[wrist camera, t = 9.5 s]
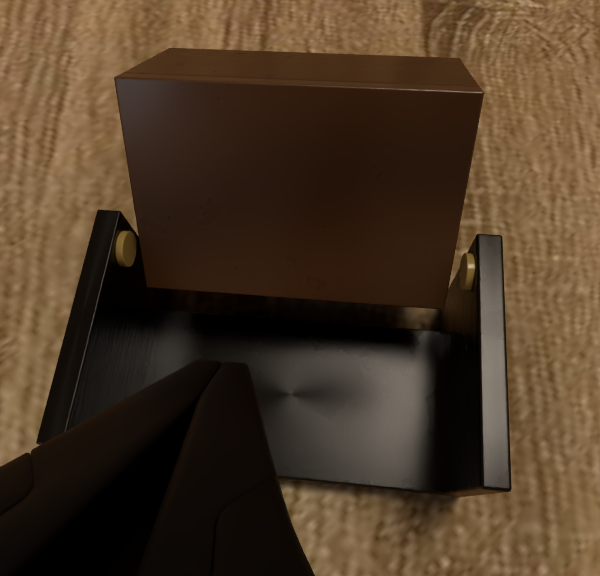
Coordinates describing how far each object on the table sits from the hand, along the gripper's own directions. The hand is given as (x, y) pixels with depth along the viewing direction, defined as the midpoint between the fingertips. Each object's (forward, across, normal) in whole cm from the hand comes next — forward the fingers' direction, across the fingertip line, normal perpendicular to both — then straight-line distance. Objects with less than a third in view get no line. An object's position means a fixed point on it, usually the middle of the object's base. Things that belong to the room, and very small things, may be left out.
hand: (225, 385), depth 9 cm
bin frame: (+12, 0, +6) cm, 14 cm away
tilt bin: (+9, 0, -1) cm, 9 cm away
